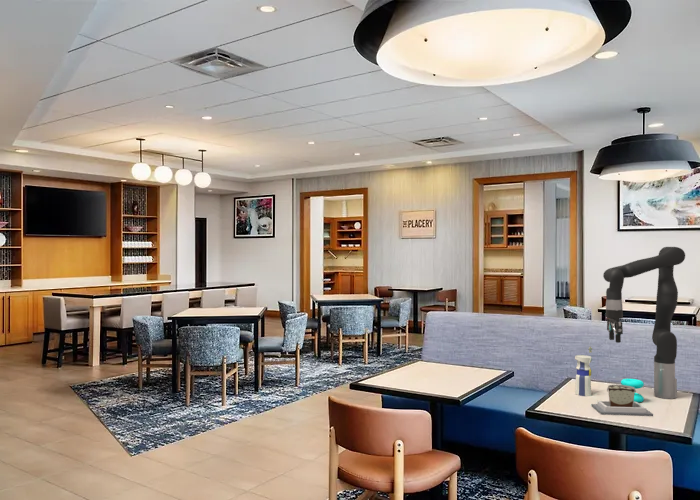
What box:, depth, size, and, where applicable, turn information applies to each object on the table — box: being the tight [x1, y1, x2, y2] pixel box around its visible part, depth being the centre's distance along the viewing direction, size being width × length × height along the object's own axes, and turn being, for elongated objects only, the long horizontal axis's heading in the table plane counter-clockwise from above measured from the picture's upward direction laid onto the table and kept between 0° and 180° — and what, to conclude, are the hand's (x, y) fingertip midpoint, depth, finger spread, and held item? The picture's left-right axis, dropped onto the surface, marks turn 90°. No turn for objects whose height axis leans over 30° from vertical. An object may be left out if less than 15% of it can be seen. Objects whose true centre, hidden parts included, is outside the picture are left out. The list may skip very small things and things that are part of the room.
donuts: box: [620, 378, 645, 404], centre depth 278 cm, size 10×10×10 cm
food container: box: [606, 384, 637, 407], centre depth 261 cm, size 12×6×10 cm, turn 81°
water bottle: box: [574, 346, 593, 397], centre depth 290 cm, size 8×9×25 cm
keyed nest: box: [590, 400, 654, 417], centre depth 259 cm, size 22×14×3 cm, turn 83°
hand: (614, 341), depth 284 cm, fingers open, 8 cm apart
